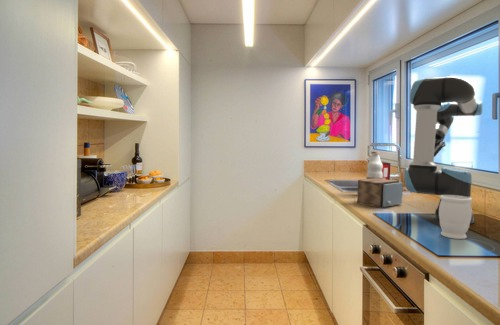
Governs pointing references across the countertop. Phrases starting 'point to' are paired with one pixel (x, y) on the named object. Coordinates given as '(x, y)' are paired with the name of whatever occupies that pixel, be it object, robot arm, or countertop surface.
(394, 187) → the door
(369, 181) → the cabinet
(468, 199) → the jar
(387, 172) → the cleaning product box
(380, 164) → the white ceramic bottle shape
